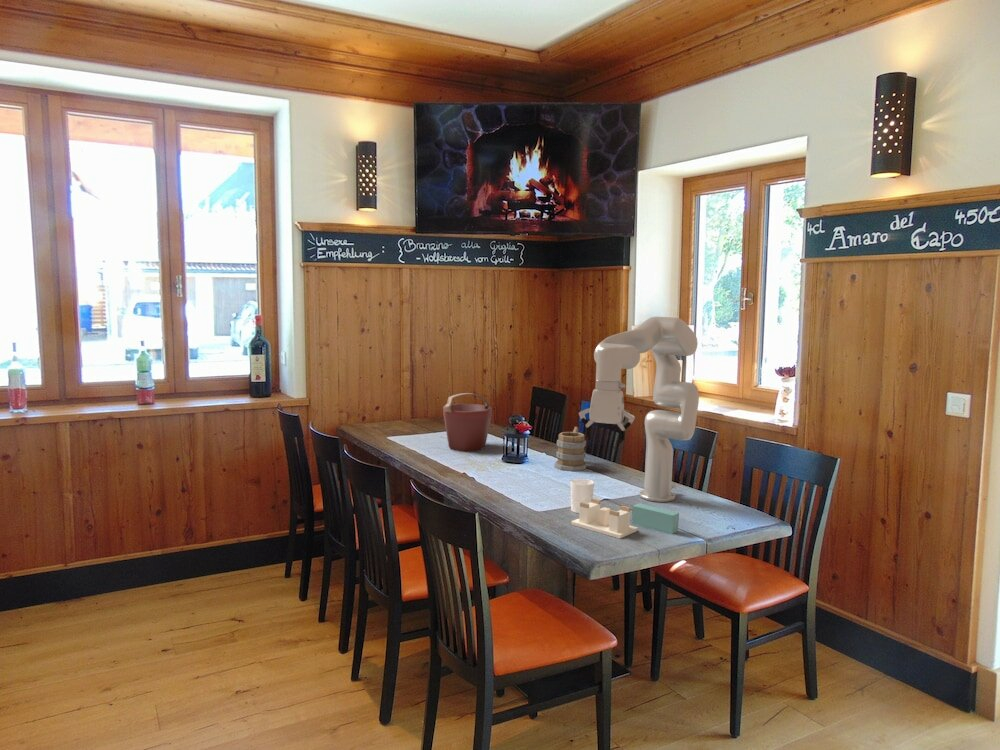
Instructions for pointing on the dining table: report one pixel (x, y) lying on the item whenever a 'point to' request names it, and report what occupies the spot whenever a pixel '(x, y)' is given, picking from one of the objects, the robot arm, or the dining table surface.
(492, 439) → the dining table surface
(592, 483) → the white cup
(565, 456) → the tankard
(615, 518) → the stand
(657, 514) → the teal bar
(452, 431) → the bucket
